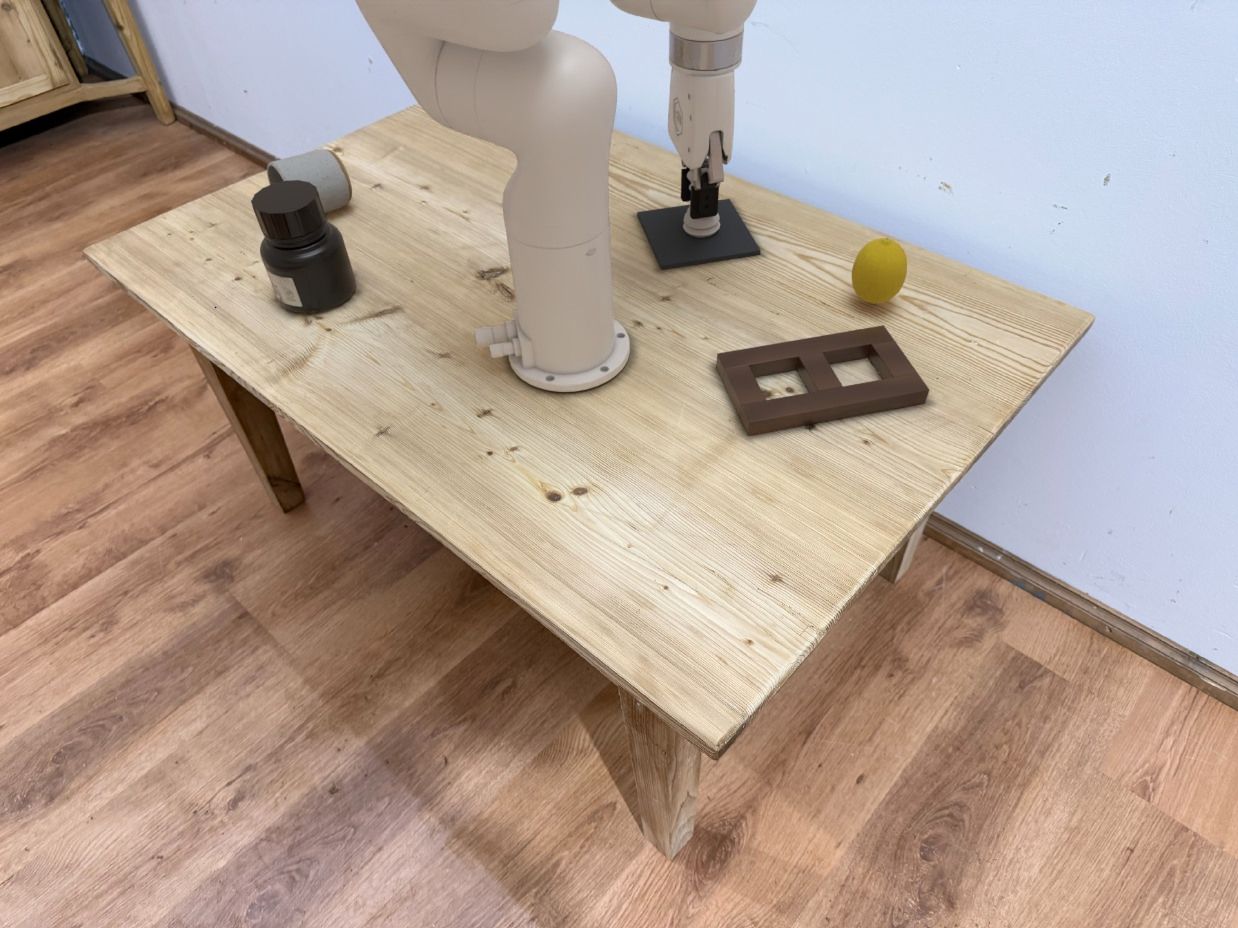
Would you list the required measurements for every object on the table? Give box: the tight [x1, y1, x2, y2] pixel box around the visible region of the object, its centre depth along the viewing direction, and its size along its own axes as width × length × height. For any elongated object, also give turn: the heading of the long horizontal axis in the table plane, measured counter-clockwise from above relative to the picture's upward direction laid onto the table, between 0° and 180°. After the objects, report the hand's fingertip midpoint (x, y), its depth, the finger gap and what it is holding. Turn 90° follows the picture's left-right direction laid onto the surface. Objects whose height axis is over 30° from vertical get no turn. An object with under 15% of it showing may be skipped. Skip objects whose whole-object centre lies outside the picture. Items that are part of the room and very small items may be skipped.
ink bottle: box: [250, 180, 357, 314], centre depth 93 cm, size 10×9×12 cm
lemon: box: [851, 237, 908, 305], centre depth 90 cm, size 6×6×8 cm
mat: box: [636, 198, 762, 271], centre depth 103 cm, size 12×12×1 cm
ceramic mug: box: [266, 148, 353, 214], centre depth 107 cm, size 11×8×8 cm
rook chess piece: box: [683, 167, 720, 238], centre depth 99 cm, size 4×4×8 cm
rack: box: [715, 324, 930, 436], centre depth 83 cm, size 10×18×2 cm, turn 103°
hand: (698, 206), depth 100 cm, fingers closed on rook chess piece, 3 cm apart
